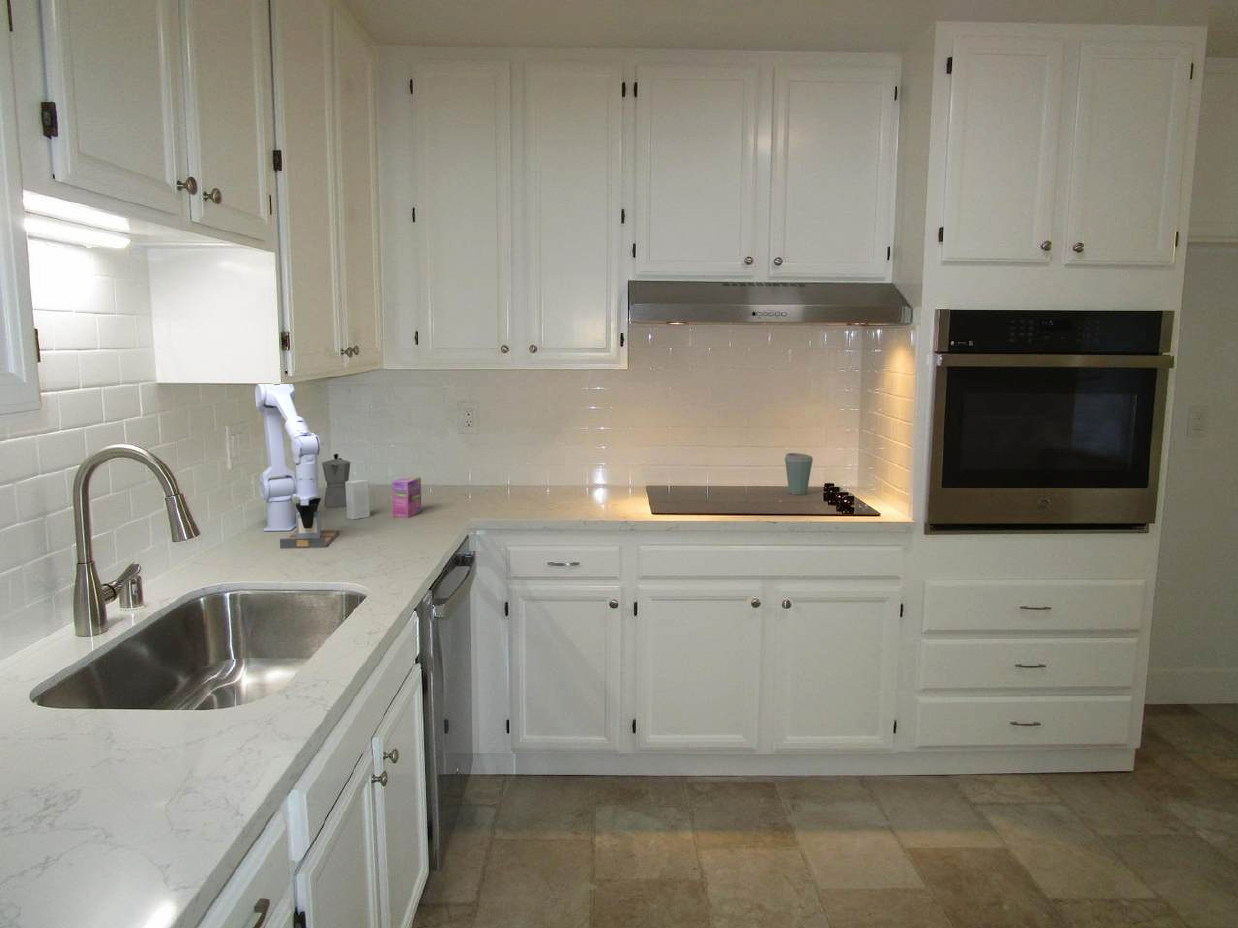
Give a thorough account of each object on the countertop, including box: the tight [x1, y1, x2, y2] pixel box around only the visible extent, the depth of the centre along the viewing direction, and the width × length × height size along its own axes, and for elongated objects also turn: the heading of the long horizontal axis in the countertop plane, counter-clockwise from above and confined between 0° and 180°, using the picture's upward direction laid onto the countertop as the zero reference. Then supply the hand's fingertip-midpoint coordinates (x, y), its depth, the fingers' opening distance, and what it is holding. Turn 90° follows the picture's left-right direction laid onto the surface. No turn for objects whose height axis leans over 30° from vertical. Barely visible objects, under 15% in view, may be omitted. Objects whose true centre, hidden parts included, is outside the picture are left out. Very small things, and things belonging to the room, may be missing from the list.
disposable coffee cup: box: [784, 452, 814, 495], centre depth 324 cm, size 11×11×15 cm
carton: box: [295, 510, 322, 538], centre depth 242 cm, size 4×6×7 cm
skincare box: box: [345, 479, 371, 520], centre depth 275 cm, size 6×4×12 cm
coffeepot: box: [321, 453, 351, 509], centre depth 296 cm, size 15×9×18 cm, turn 8°
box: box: [391, 476, 422, 519], centre depth 281 cm, size 10×6×12 cm, turn 168°
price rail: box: [279, 538, 327, 549], centre depth 235 cm, size 1×12×2 cm, turn 96°
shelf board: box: [286, 529, 340, 547], centre depth 244 cm, size 16×12×1 cm
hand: (309, 526), depth 242 cm, fingers open, 5 cm apart
